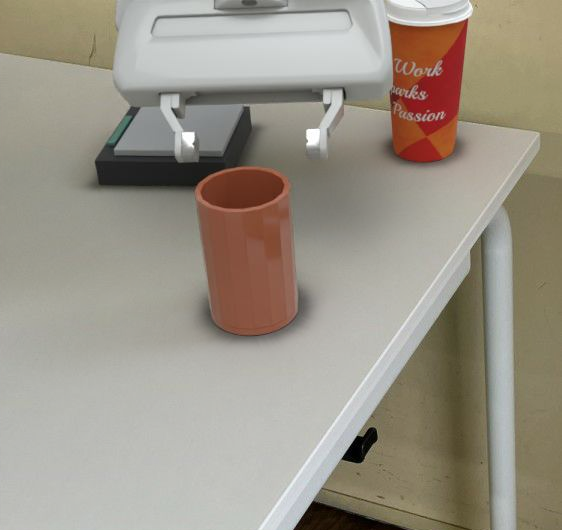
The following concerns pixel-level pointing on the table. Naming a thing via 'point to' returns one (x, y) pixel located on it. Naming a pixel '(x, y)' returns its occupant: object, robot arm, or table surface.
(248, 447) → the table surface
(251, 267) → the cup
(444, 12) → the paper cup
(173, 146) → the scale
